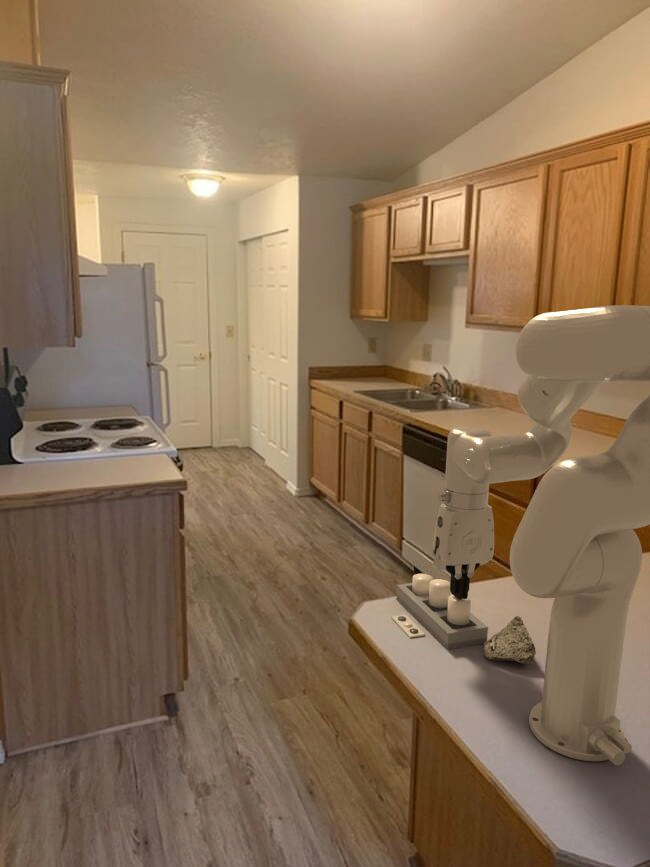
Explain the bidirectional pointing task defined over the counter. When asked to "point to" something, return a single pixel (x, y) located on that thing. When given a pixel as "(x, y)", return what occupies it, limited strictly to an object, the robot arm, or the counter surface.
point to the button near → (458, 610)
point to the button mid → (439, 593)
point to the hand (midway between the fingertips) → (458, 595)
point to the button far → (421, 584)
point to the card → (407, 626)
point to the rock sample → (511, 644)
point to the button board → (441, 620)
